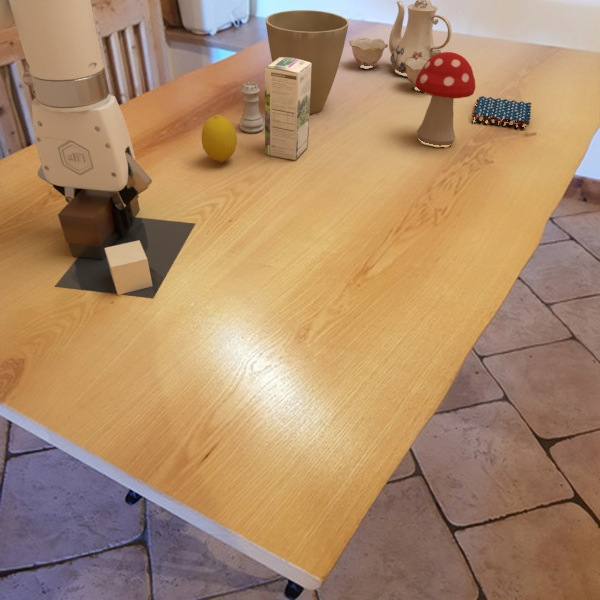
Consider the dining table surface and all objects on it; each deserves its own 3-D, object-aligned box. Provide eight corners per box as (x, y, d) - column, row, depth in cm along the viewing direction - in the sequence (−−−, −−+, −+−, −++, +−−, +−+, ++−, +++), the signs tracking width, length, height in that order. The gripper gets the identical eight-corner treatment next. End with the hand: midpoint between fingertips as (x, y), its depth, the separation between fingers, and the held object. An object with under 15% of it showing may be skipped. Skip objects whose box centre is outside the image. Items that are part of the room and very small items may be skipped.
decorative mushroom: (469, 140, 98) (490, 52, 88) (452, 157, 93) (471, 65, 83) (418, 127, 102) (432, 41, 92) (398, 143, 97) (411, 53, 87)
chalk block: (117, 295, 62) (110, 267, 60) (111, 275, 65) (104, 247, 62) (152, 286, 64) (147, 258, 61) (145, 267, 66) (139, 239, 64)
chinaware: (335, 73, 129) (334, -5, 118) (382, 51, 137) (385, -23, 125) (430, 107, 114) (440, 22, 102) (478, 82, 121) (492, -1, 109)
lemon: (214, 173, 87) (210, 124, 82) (198, 160, 90) (192, 112, 85) (244, 164, 90) (241, 116, 84) (227, 152, 93) (223, 105, 88)
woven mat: (475, 103, 112) (477, 93, 110) (529, 111, 109) (532, 101, 108) (469, 123, 104) (471, 112, 103) (527, 131, 101) (530, 120, 100)
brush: (104, 260, 67) (93, 218, 63) (70, 256, 68) (57, 214, 64) (141, 210, 76) (133, 170, 72) (111, 206, 77) (102, 167, 73)
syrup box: (278, 142, 96) (277, 55, 87) (309, 148, 95) (312, 60, 85) (264, 155, 92) (262, 66, 83) (297, 161, 91) (298, 71, 81)
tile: (56, 293, 64) (53, 286, 63) (113, 220, 76) (111, 214, 75) (154, 305, 63) (153, 298, 62) (196, 229, 75) (195, 223, 74)
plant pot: (266, 122, 102) (264, 30, 92) (267, 94, 114) (266, 9, 103) (346, 123, 103) (353, 31, 93) (339, 94, 114) (344, 10, 104)
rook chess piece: (238, 124, 102) (236, 80, 96) (262, 123, 102) (261, 79, 97) (241, 134, 98) (238, 89, 93) (265, 133, 99) (264, 88, 94)
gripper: (-20, 92, 58) (31, 237, 70) (132, 105, 56) (158, 252, 68) (19, 70, 63) (60, 207, 75) (158, 81, 62) (178, 220, 73)
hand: (106, 227), depth 71 cm, fingers closed on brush, 4 cm apart
